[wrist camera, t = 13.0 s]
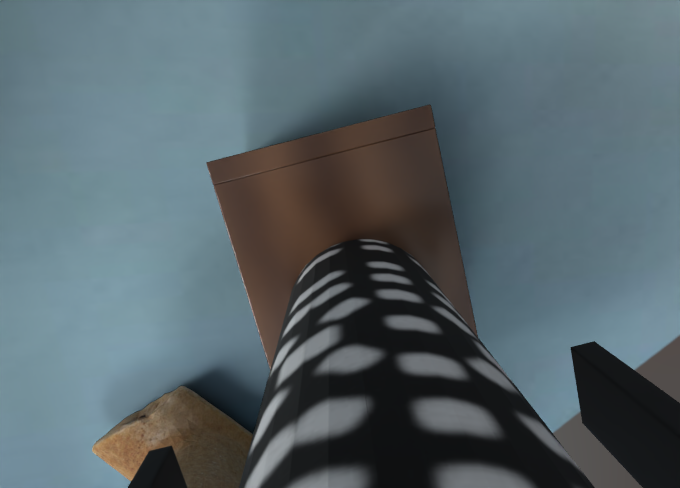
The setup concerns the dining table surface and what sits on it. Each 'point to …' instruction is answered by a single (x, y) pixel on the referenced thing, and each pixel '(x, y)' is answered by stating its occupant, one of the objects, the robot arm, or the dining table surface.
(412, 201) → the rack
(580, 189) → the dining table surface
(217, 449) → the stone cup
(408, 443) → the spotted tube
